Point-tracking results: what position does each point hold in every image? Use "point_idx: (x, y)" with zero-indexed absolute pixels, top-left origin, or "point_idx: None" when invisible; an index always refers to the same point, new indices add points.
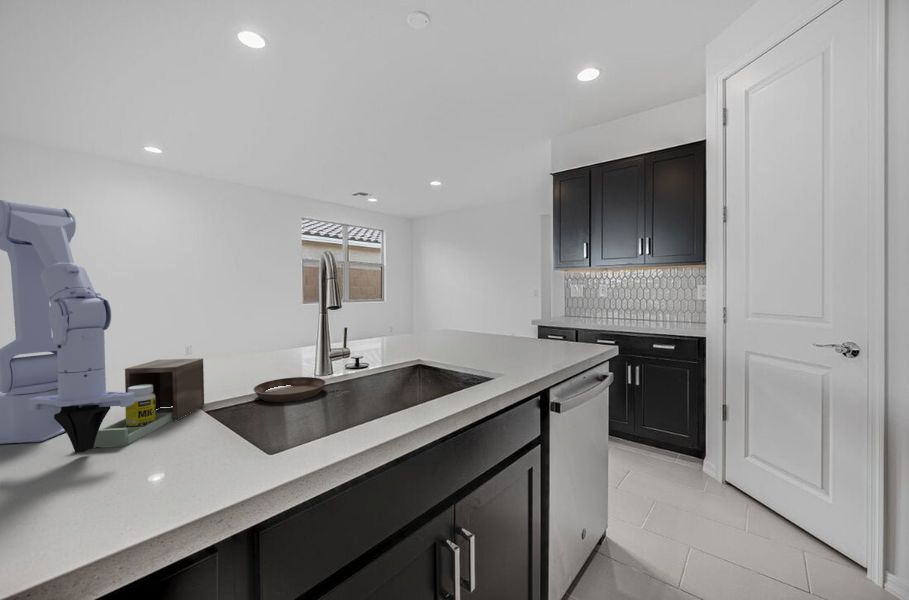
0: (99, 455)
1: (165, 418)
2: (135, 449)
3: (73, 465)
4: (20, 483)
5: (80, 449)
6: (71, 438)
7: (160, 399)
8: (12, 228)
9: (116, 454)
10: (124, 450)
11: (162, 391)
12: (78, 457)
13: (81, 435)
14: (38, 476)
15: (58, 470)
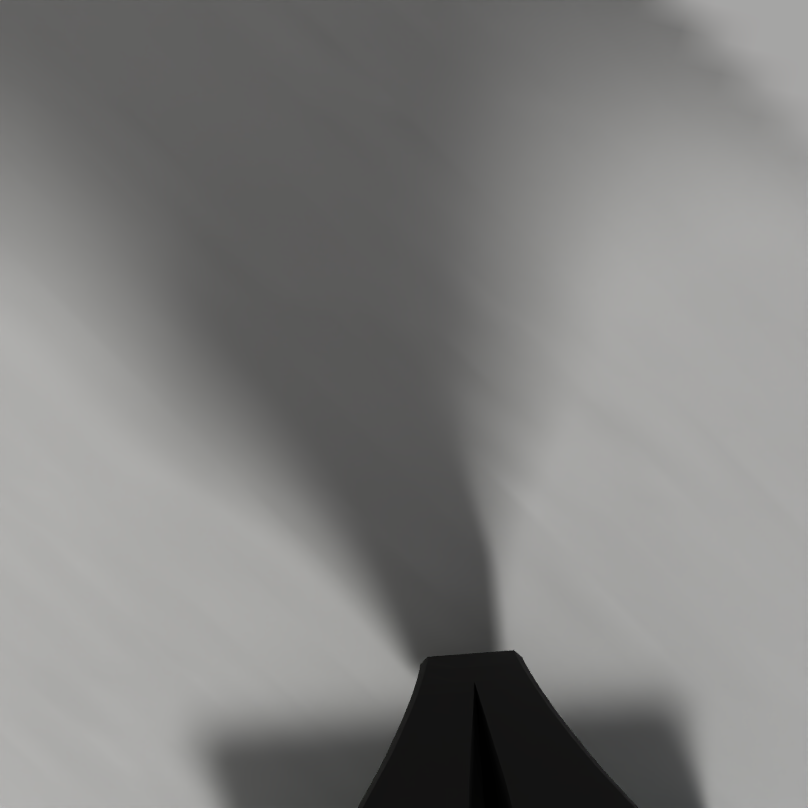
0: (328, 683)
1: None
2: (81, 800)
3: (376, 457)
4: (543, 20)
5: (453, 671)
6: (551, 750)
7: None
8: None
9: (166, 696)
10: (175, 784)
11: None
12: (513, 648)
13: (405, 793)
14: (507, 196)
15: (424, 340)
